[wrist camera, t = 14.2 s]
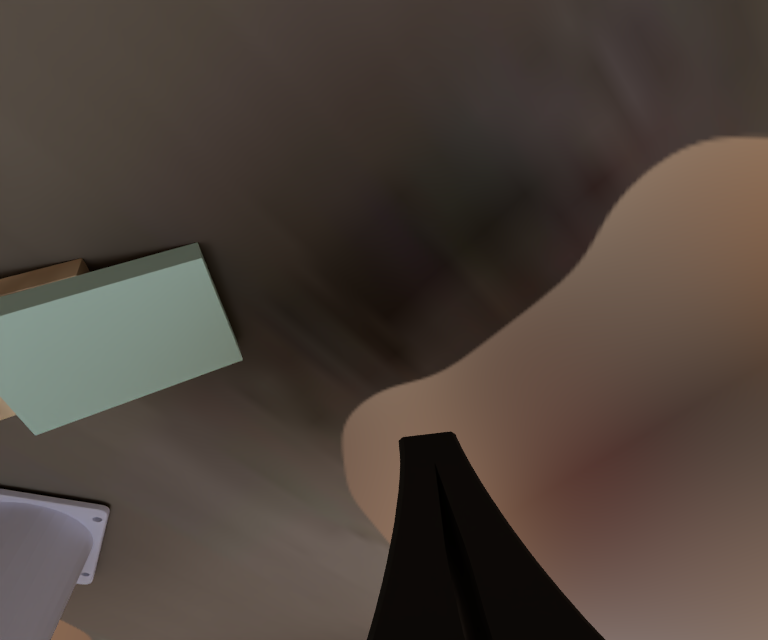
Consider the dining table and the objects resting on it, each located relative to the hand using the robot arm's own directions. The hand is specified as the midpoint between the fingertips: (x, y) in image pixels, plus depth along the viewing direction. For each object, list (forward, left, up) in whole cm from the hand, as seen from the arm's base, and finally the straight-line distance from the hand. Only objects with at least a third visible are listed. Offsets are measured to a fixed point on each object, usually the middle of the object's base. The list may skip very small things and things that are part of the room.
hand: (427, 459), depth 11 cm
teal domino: (-4, +6, -9) cm, 11 cm away
